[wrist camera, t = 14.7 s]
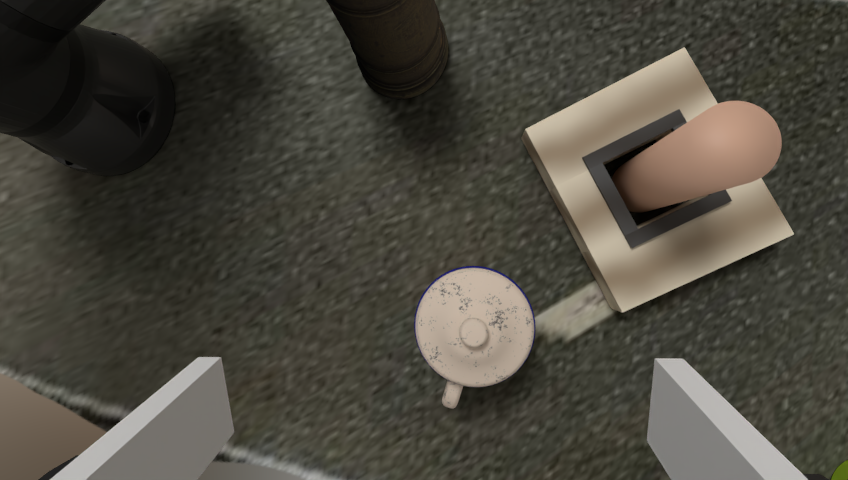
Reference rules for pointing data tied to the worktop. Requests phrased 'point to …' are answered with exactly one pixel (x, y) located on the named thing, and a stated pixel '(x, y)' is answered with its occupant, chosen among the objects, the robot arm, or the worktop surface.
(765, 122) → the peg
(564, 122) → the band board
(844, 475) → the soap dispenser
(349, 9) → the container
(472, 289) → the teacup with lid
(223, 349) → the worktop surface
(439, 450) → the worktop surface
